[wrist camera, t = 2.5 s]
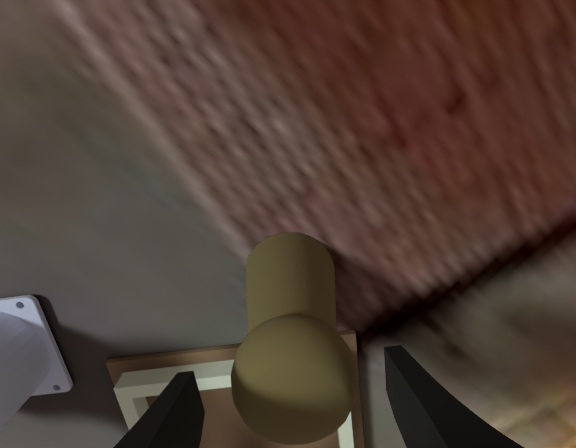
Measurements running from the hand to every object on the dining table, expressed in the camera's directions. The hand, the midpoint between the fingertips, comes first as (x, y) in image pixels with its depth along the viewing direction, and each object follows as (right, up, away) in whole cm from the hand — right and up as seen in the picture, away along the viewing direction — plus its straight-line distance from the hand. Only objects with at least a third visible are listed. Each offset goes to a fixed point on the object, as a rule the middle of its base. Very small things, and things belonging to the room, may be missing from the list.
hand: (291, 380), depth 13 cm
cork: (0, +2, +10) cm, 11 cm away
